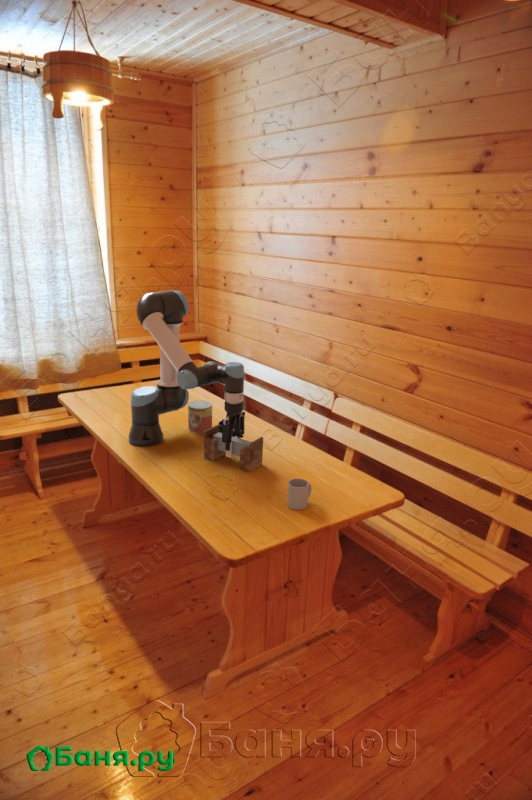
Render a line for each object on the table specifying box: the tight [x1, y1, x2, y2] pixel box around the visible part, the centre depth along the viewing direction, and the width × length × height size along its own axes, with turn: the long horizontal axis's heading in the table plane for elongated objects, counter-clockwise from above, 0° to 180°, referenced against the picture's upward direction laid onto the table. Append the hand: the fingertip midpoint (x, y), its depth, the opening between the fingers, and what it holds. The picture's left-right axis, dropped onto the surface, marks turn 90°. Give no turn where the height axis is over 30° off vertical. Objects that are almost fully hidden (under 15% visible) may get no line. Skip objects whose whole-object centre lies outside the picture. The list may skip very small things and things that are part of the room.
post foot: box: [239, 436, 264, 473], centre depth 230 cm, size 5×9×12 cm, turn 149°
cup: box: [286, 477, 312, 511], centre depth 203 cm, size 7×10×9 cm
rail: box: [213, 433, 252, 457], centre depth 234 cm, size 19×4×6 cm, turn 59°
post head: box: [203, 424, 226, 462], centre depth 239 cm, size 5×9×12 cm, turn 149°
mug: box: [217, 420, 237, 437], centre depth 251 cm, size 8×12×10 cm
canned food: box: [187, 400, 213, 434], centre depth 268 cm, size 11×11×12 cm
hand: (233, 454), depth 235 cm, fingers open, 5 cm apart
